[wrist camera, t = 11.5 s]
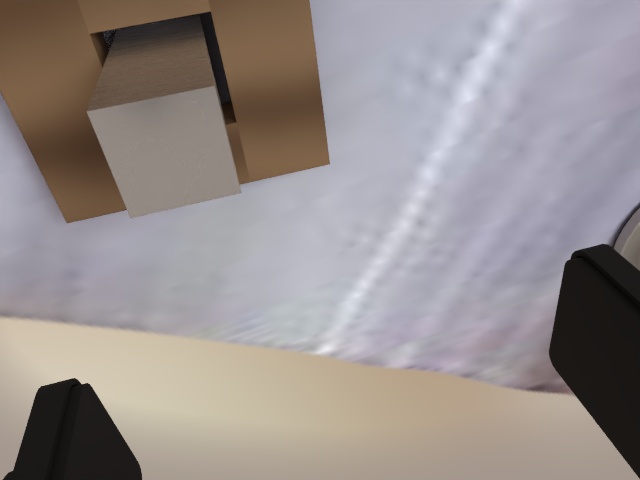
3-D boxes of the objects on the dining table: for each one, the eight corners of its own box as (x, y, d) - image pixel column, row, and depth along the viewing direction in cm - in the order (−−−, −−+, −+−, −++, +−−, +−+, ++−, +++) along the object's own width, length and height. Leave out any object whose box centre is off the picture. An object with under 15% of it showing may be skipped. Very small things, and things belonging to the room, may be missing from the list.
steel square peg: (218, 93, 28) (241, 192, 19) (143, 109, 27) (130, 218, 18) (199, 14, 25) (214, 85, 16) (116, 30, 25) (87, 111, 16)
